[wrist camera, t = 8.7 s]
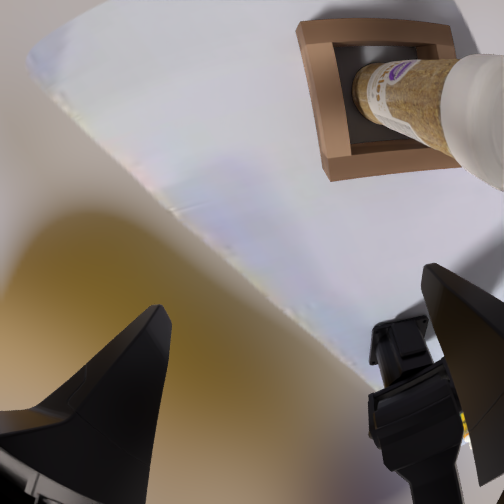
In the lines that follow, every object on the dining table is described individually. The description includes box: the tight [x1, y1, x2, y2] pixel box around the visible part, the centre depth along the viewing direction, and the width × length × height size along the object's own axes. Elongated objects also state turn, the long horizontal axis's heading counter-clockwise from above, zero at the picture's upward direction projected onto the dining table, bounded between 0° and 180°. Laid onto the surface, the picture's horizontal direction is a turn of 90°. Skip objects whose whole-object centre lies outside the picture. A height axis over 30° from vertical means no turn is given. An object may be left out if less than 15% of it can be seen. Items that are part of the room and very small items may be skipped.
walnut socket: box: [296, 18, 462, 182], centre depth 15 cm, size 10×10×3 cm
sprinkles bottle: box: [352, 54, 504, 191], centre depth 11 cm, size 5×5×14 cm
